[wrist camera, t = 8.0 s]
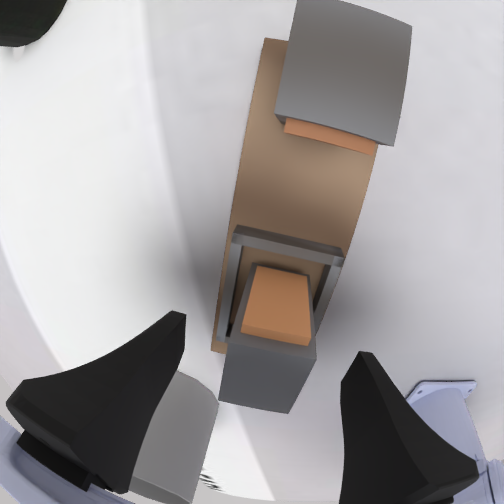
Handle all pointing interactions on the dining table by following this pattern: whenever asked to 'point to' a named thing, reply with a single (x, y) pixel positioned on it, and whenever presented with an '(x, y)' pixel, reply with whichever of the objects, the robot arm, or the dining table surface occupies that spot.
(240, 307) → the block
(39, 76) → the dining table surface
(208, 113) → the dining table surface
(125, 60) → the dining table surface
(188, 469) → the cup
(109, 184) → the dining table surface
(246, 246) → the wooden base with frame
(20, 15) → the sushi
